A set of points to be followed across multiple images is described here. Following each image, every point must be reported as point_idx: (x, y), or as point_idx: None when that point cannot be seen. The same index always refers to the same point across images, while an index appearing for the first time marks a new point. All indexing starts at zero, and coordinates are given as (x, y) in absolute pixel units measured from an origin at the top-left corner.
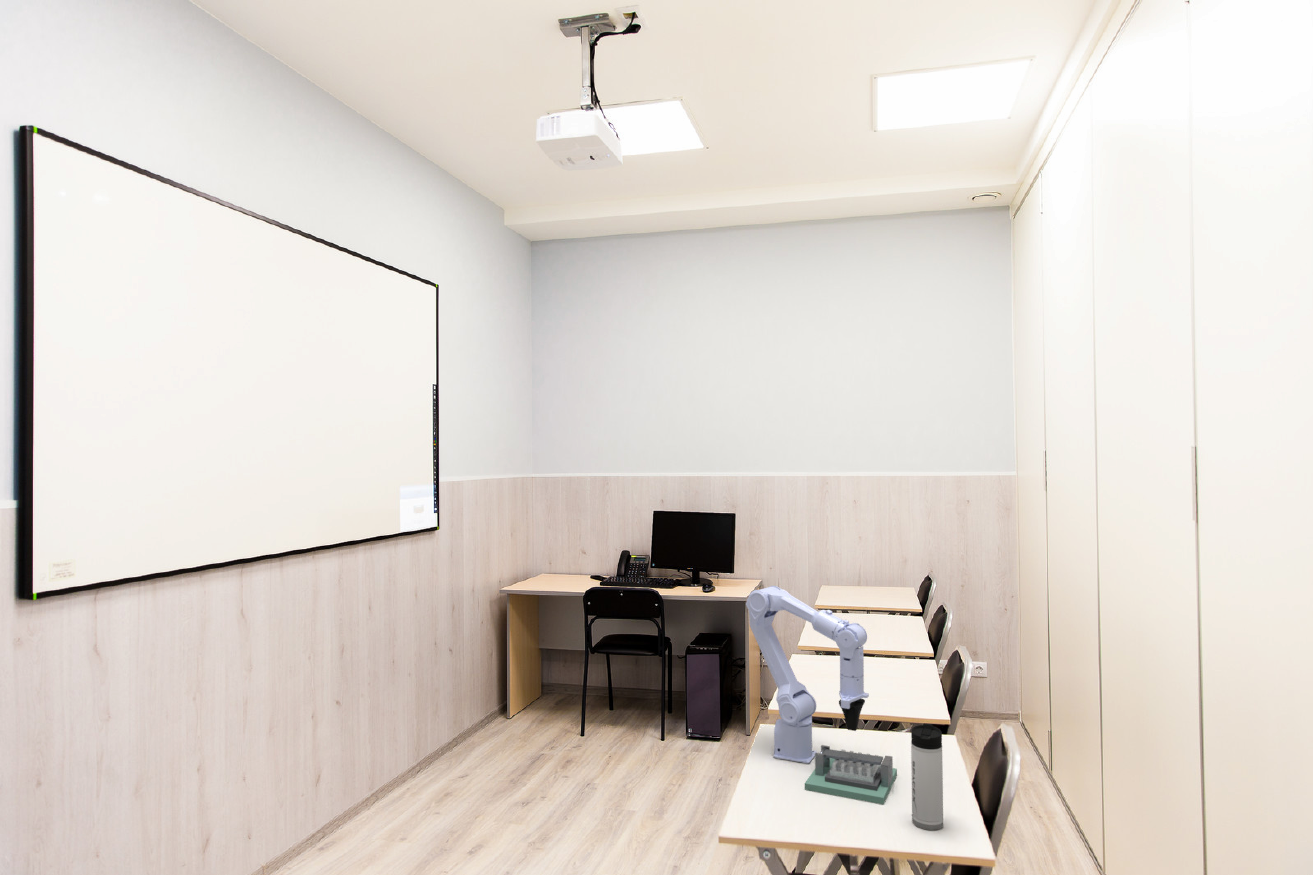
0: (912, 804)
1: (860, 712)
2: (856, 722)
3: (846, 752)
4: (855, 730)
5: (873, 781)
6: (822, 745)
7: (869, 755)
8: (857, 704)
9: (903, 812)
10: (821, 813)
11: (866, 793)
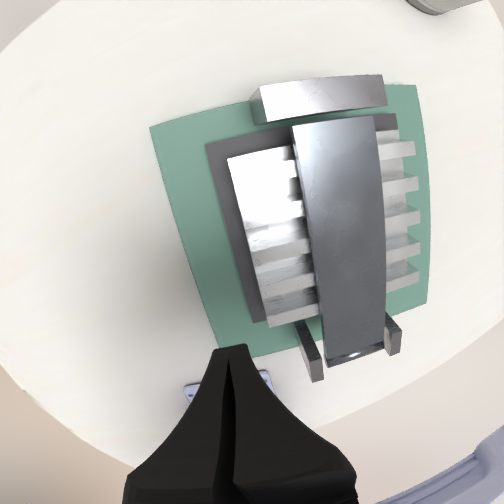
0: (468, 4)
1: (179, 422)
2: (260, 375)
3: (330, 291)
4: (246, 345)
5: (385, 129)
6: (316, 379)
7: (315, 191)
8: (309, 494)
9: (408, 34)
10: (491, 207)
11: (418, 137)
